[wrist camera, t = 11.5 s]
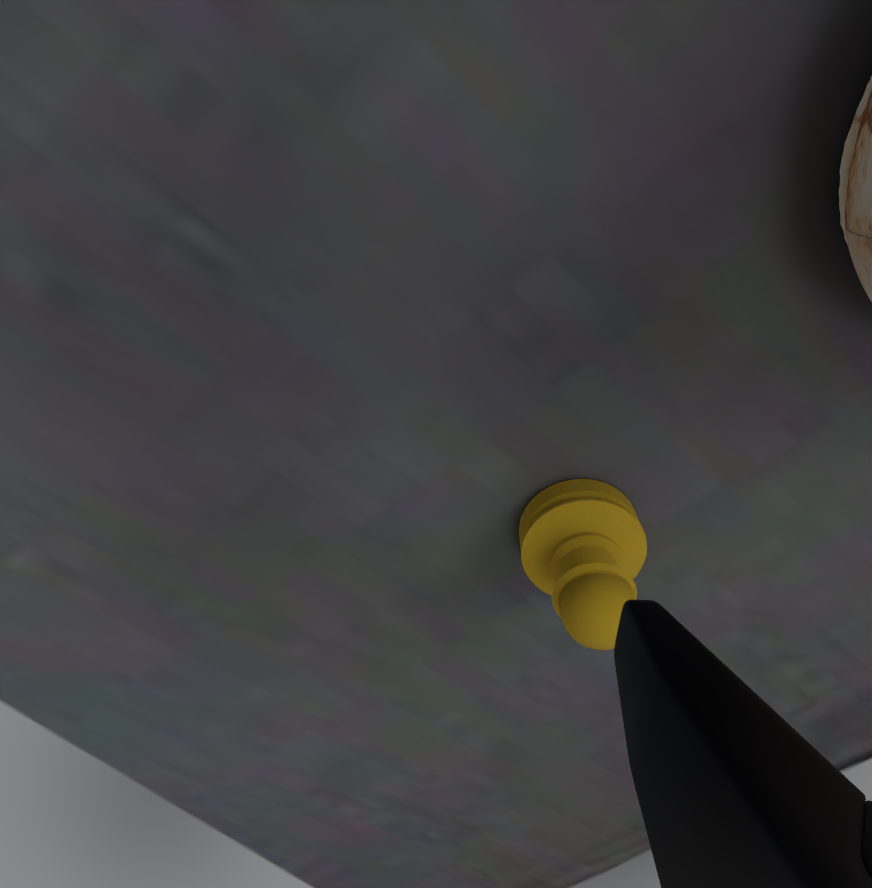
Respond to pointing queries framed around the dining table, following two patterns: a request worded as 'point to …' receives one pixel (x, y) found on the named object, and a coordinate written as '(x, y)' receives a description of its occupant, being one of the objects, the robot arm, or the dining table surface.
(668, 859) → the robot arm
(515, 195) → the dining table surface
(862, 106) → the trinket box
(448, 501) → the dining table surface
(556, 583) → the chess piece
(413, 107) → the dining table surface
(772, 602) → the dining table surface
